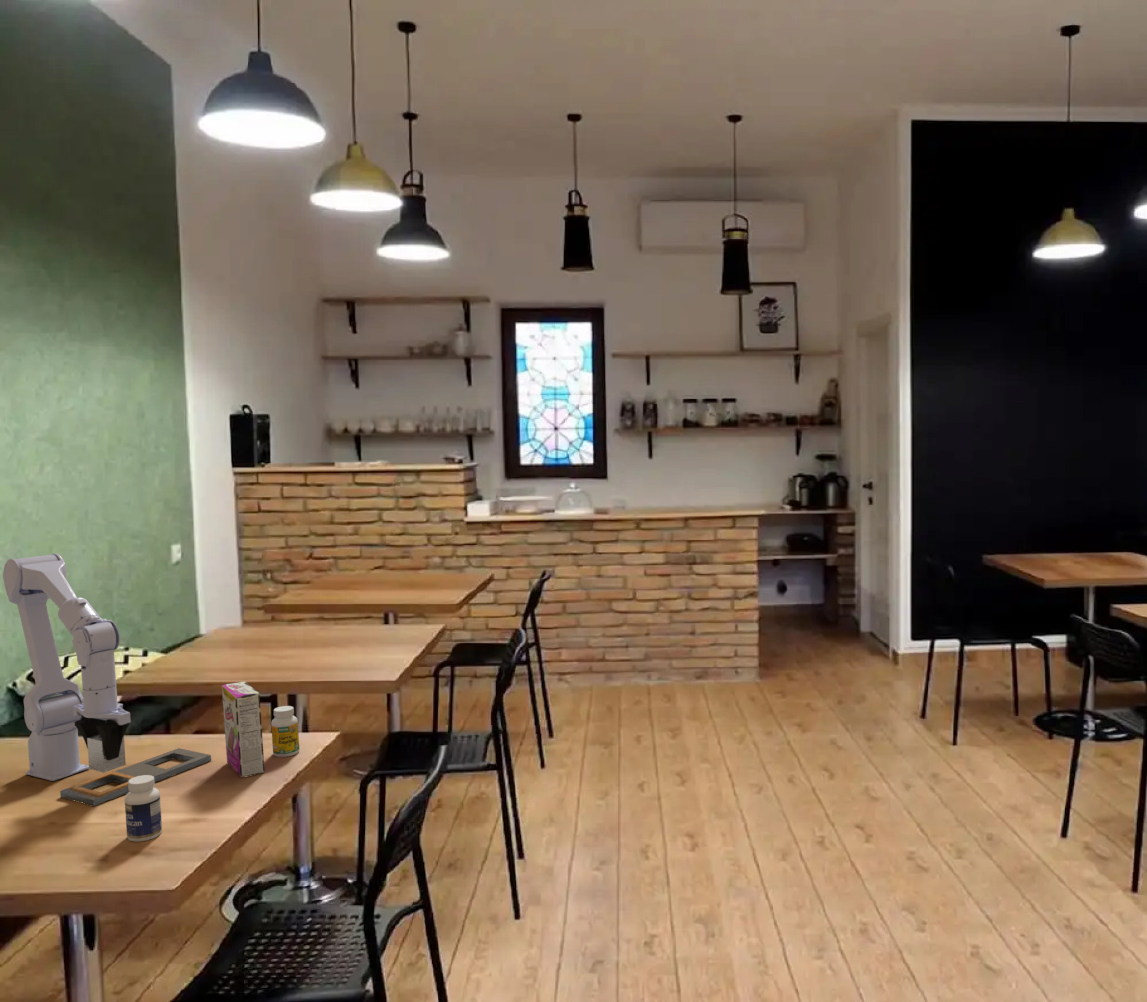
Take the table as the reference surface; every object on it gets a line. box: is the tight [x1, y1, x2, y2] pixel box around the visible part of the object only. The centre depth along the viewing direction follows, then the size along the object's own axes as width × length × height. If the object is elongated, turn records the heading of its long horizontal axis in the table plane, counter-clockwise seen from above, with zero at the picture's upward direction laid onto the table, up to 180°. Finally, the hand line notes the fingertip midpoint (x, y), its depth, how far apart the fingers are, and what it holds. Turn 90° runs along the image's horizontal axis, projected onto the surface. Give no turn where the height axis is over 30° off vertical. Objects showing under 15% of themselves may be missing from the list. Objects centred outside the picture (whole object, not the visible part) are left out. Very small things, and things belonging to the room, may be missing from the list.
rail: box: [59, 747, 212, 807], centre depth 185 cm, size 10×26×2 cm, turn 151°
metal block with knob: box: [87, 734, 127, 773], centre depth 178 cm, size 4×4×6 cm
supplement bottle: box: [270, 705, 300, 758], centre depth 196 cm, size 5×5×10 cm
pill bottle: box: [124, 775, 163, 842], centre depth 157 cm, size 5×5×10 cm
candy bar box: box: [221, 680, 266, 778], centre depth 188 cm, size 11×5×16 cm, turn 34°
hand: (104, 756), depth 178 cm, fingers closed on metal block with knob, 4 cm apart
